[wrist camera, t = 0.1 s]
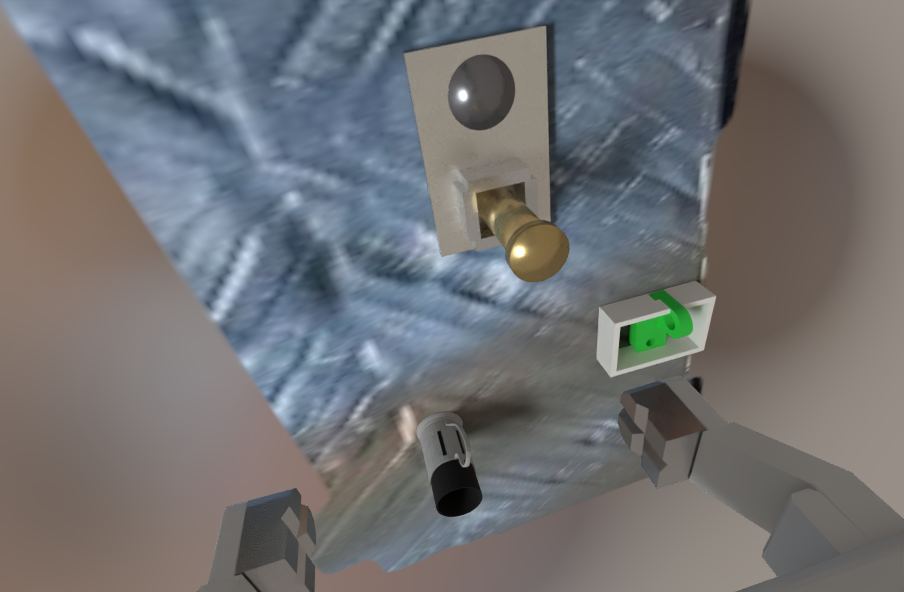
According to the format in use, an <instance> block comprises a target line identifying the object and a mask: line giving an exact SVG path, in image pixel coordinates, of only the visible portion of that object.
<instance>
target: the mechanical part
mask: <svg viewBox="0 0 904 592" xmlns="http://www.w3.org/2000/svg"><path fill="white" fill-rule="evenodd" d="M648 295H649V296H650V297H651V298H653V299H654V300H655V301H656V300H659V299H660V300H661V301H662V302H663V303H665V304H666V305H667V306H668V307H669V308H670V313H669V314H666V315H662V316H659V317H655V318H651V319H648V320H644V321H641V322H637V323H633V324H630V332H629V342H630V344H631V345H632V346H633V347H634V348H635V349H636V351H637V352H642V351H645V350H649V349H652V348H656V347H659V346H663V345H665V343H666V334H668V335H669V336H670V337H672V338H674V339H678V338H681V337H684V336H687V335H690V334H691V333H692V331H693V322H692V319H691V316H690V314H689V312H688V311H687V310H686V308H685V307H684V306H682V305H681V304H680V303H679V302H678V301H676V300H675V299H674V298H673V297H672V296H671V295H669V294H668V293H667V292H666V291H665V290H660V291H657V292H654V293H651V294H648Z"/></svg>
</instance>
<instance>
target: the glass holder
mask: <svg viewBox="0 0 904 592" xmlns="http://www.w3.org/2000/svg"><path fill="white" fill-rule="evenodd" d="M417 437H418V439H419V440H420V441H421V444H422V449H423V454H424V458H425V463H426V468H427V472H428V477H429V482H430V485H431V487H432V490H433V495H434V500H435V504H436V509H437V511H438V512H439V513H440V514H441V515H443V516H447V517H456V516H461V515H464V514H467V513H469V512H471V511H472V510H474V509H475V508H476V507H477V506H478V505H479V504H480V503H481V501H482V493H481V490H480V486H479V483H478V480H477V477H476V472H475V467H474V464H473V461H472V458H471V450H470V444H469V440H468V438H467V435H466V433H465V431H464V429H463V422H462V419H461V418H460V417H459V416H458V415H457V414H455V413H452V412H439V413H435V414H432V415H430V416H428V417H427V418H425V419H424V420H423V421H422V422H421V423H420V424H419V426H418V428H417Z"/></svg>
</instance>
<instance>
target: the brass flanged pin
mask: <svg viewBox="0 0 904 592" xmlns="http://www.w3.org/2000/svg"><path fill="white" fill-rule="evenodd" d="M476 202H477V210H478V213H479V215H480V216H481V217H482V219H483V220H484V221H485V223H486V224H487V225H488V227H489V228H490V229H491V231H492V232H493V234H494V235H495V236H496V238H497V239H498V240H499V242H500V243H501V244H502V246H503V247H504V249H505V250H506V251H505V257H506V261H507V263H508V265H509V267H510V268H511V270H512V271H513V272H514V274H515V275H516V276H517V277H518V278H520V279H521V280H524V281H527V282H539V281H543V280H546V279H548V278H550V277H552V276H553V275H554V274H556V273H557V272H558V271H559V270H560V269H561V268H562V266H563V265H564V263H565V262H566V260H567V257H568V254H569V241H568V239H567V237H566V235H565V234H564V233H563V231H561V230H560V229H559V228H558V227H557V226H556V225H555V224H553V223H552V222H549V221H546V220H540V219H539V218H538V217H537V216H536V215H535V214H534V213H533V212H532V211H531V210H530V209H529V208H528V207H527V206H526V205H525V204H524V203H523V202H522V201H521V200H520V199H519V198H518V197H517V196H516V195H515V194H514V193H513V192H512V191H511V190H510V189H509V188H508V187H507V186H504V187H499V188H495V189H491V190H487V191H482V192H478V193H476Z"/></svg>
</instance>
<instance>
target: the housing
mask: <svg viewBox="0 0 904 592" xmlns="http://www.w3.org/2000/svg"><path fill="white" fill-rule="evenodd" d="M402 55H403V60H404V66H405V71H406V76H407V82H408V87H409V92H410V98H411V103H412V108H413V114H414V119H415V124H416V130H417V135H418V140H419V146H420V151H421V156H422V162H423V167H424V173H425V178H426V183H427V189H428V194H429V199H430V205H431V210H432V215H433V221H434V226H435V231H436V237H437V242H438V247H439V252H440V254H441V257H443V256H447V255H451V254H455V253H459V252H463V251H468V250H472V249H475V250H476V251H480V250H485V249H489V248H493V247H497V246H501V245H502V244H501V243H500V242H499V240H498V239H497V238H496V236H495V235H494V234H493V232H492V231H491V229H490V228H489V227H488V225H487V224H486V223H485V221H484V220H483V219H482V217H481V216H480V215H479V213H478V210H477V202H476V193H478V192H482V191H487V190H491V189H495V188H499V187H504V186H507V187H508V188H509V189H510V190H511V191H512V192H513V193H514V194H515V195H516V196H517V197H518V198H519V199H520V200H521V201H522V202H523V203H524V204H525V205H526V206H527V207H528V208H529V209H530V210H531V211H532V212H533V213H534V214H535V215H536V216H537V217H538V218H539V219H540V220H546V221H549V222H551V220H550V177H549V133H548V90H547V47H546V26H542V25H540V26H535V27H530V28H525V29H520V30H514V31H509V32H504V33H499V34H494V35H489V36H484V37H479V38H473V39H468V40H463V41H458V42H453V43H448V44H443V45H437V46H432V47H427V48H422V49H417V50H412V51H407V52H402Z"/></svg>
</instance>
